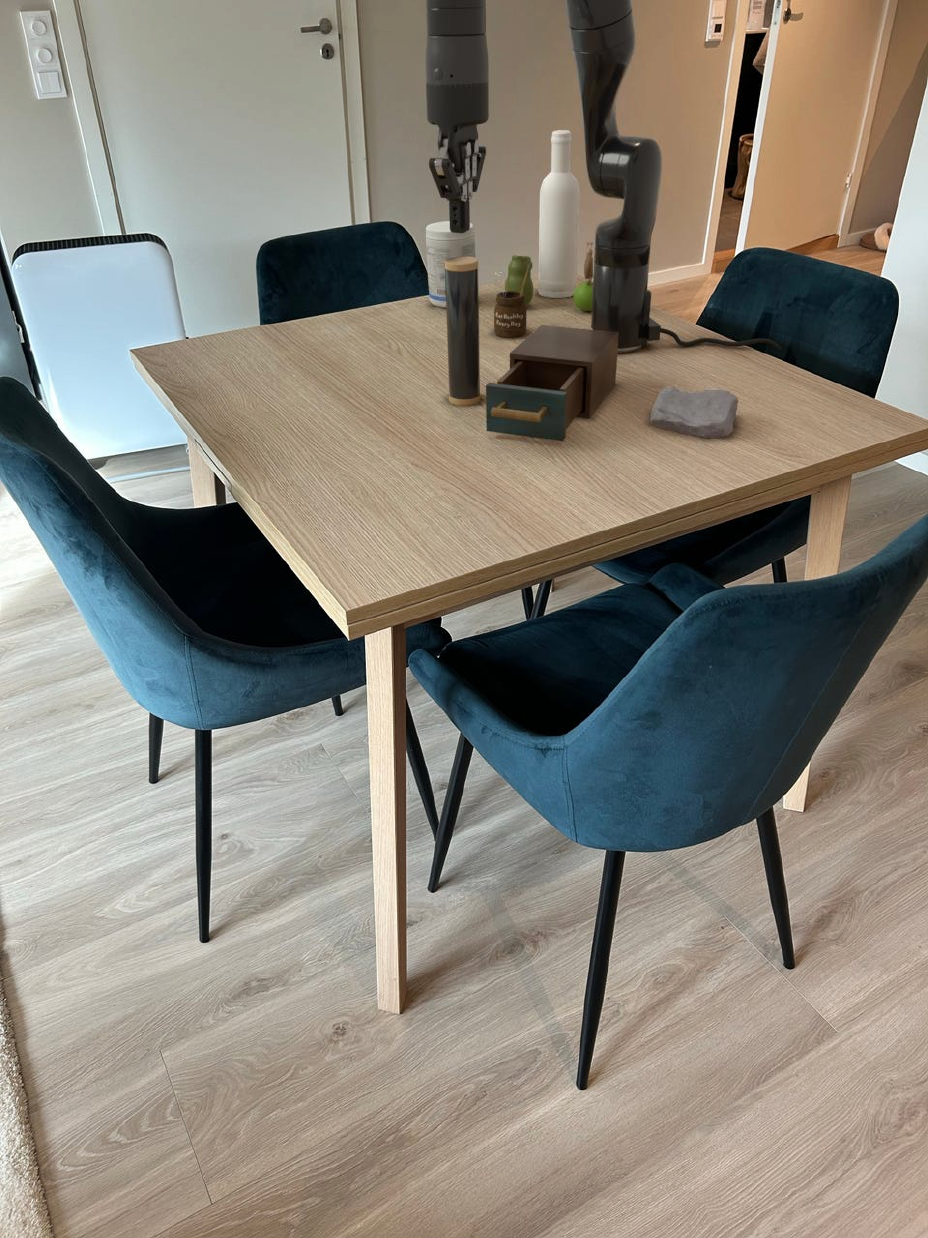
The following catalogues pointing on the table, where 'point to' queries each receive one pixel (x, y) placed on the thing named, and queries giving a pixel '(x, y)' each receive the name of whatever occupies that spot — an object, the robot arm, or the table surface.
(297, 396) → the table surface
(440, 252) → the supplement tub
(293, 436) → the table surface
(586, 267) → the snail figurine
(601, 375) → the cabinet
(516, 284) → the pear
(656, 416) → the stone block
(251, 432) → the table surface
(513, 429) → the drawer
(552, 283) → the bottle
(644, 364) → the table surface
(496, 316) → the utensil holder
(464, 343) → the black cylinder
